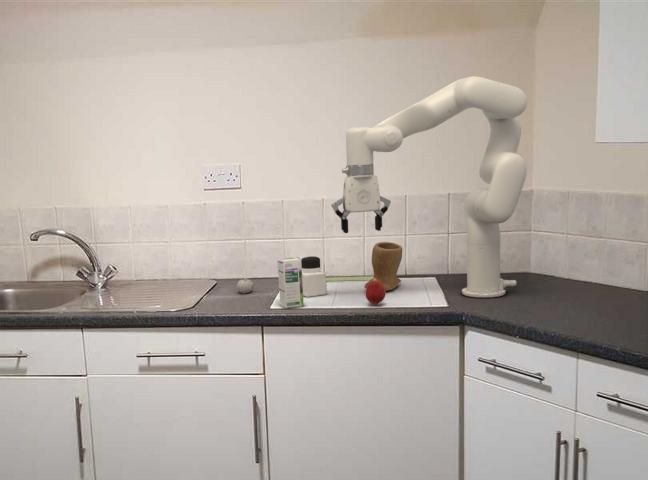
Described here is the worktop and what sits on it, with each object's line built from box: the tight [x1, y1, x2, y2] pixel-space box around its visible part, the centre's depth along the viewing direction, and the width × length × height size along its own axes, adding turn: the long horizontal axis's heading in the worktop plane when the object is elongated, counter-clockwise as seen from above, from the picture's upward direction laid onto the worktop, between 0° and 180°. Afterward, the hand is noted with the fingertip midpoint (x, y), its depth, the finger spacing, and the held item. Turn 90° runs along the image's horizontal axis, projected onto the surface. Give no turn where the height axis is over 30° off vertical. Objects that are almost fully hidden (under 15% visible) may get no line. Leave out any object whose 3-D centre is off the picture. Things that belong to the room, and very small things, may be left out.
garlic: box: [236, 277, 254, 295], centre depth 250 cm, size 6×5×5 cm
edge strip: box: [326, 275, 374, 282], centre depth 264 cm, size 20×6×1 cm, turn 81°
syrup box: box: [277, 256, 305, 309], centre depth 226 cm, size 6×6×14 cm
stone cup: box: [364, 241, 403, 292], centre depth 243 cm, size 15×12×15 cm
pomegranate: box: [365, 278, 386, 306], centre depth 221 cm, size 6×6×8 cm
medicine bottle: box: [300, 255, 328, 298], centre depth 242 cm, size 7×7×12 cm
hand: (361, 231), depth 219 cm, fingers open, 9 cm apart
